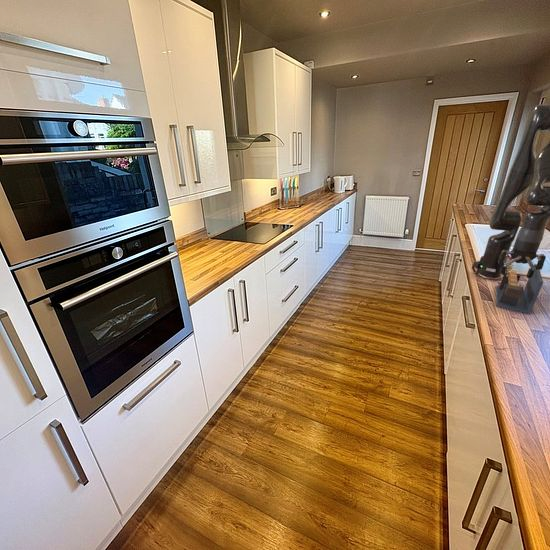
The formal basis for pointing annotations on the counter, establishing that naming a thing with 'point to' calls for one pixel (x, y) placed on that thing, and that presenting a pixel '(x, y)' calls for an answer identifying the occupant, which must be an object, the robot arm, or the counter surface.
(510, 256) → the knee model
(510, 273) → the brush
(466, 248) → the counter surface
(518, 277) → the rack
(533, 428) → the counter surface
